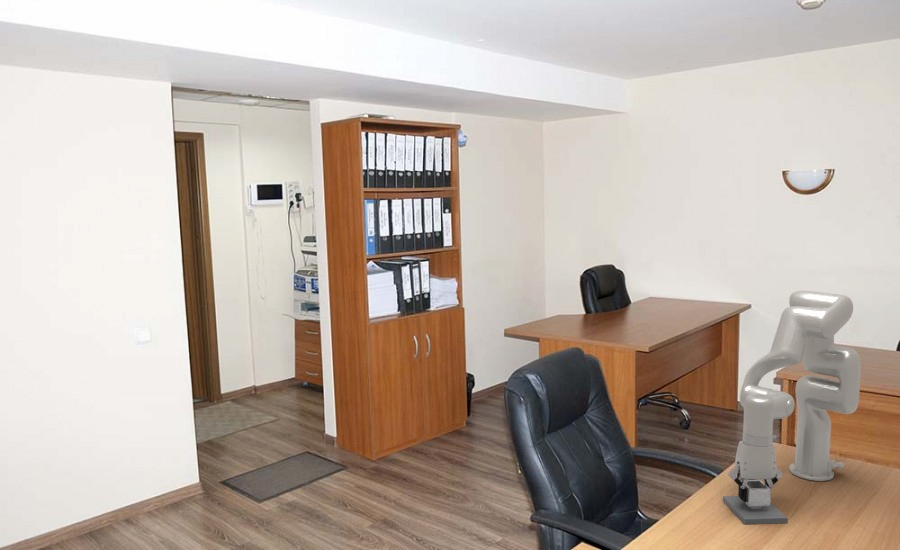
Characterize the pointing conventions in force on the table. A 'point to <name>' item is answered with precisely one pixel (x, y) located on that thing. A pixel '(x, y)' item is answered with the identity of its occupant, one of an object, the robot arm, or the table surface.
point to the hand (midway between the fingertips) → (754, 499)
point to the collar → (757, 493)
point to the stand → (754, 512)
